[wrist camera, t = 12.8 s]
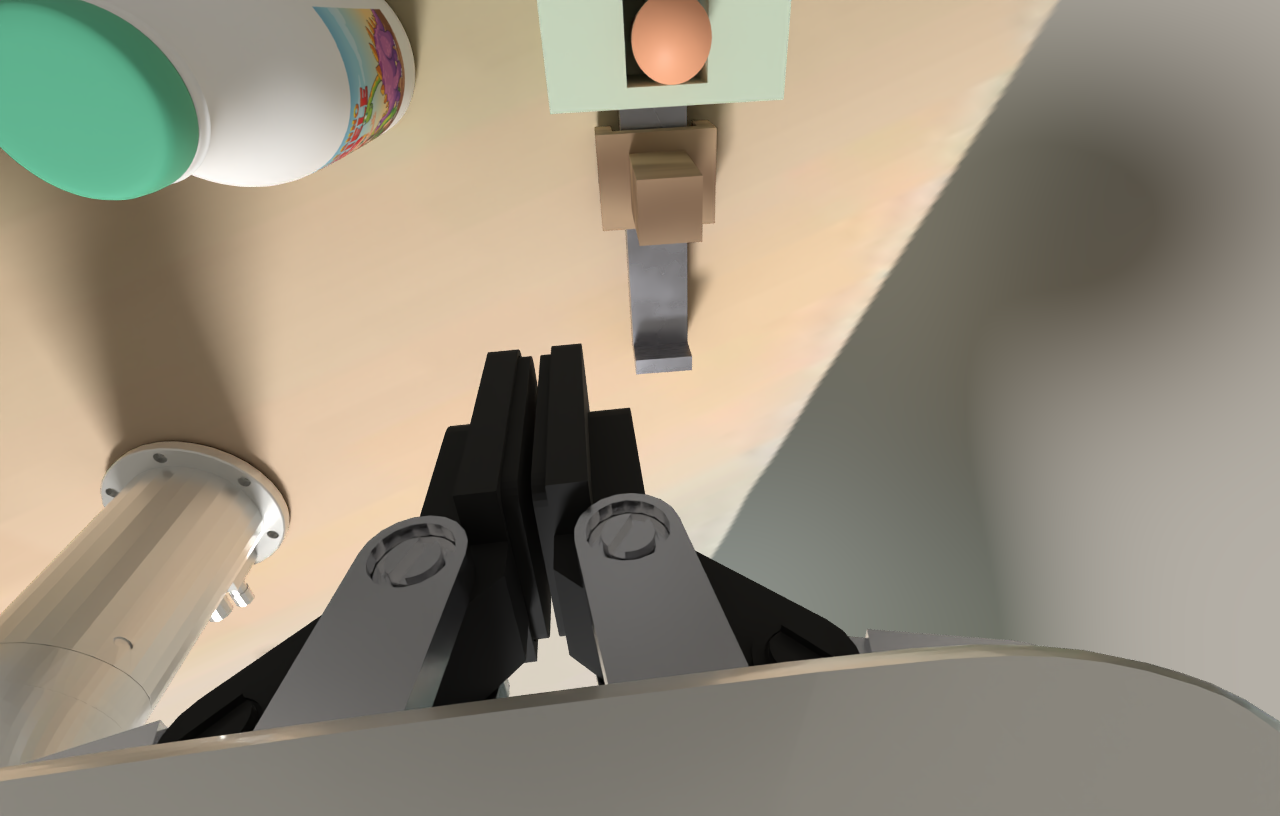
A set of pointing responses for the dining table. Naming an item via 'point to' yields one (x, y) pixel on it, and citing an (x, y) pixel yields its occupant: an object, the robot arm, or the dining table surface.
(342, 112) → the milk bottle
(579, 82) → the cabinet
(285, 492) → the dining table surface
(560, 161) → the dining table surface
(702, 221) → the carriage
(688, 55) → the gauge plunger
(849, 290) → the dining table surface
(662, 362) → the rail
